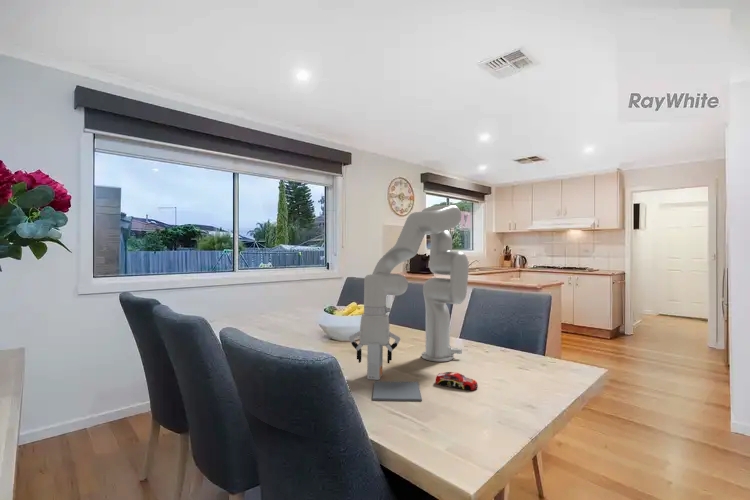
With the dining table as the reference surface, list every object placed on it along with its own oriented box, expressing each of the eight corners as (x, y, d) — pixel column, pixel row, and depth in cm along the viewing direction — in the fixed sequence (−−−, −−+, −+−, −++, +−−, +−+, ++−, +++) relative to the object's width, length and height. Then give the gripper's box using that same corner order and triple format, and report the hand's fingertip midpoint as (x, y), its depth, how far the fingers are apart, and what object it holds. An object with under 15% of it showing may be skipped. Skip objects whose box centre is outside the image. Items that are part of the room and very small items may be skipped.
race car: (479, 387, 120) (479, 375, 120) (475, 393, 116) (475, 380, 116) (439, 380, 127) (439, 368, 127) (433, 385, 122) (433, 372, 122)
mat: (418, 383, 123) (418, 381, 123) (421, 401, 109) (421, 398, 109) (374, 383, 123) (374, 381, 123) (372, 400, 109) (372, 398, 109)
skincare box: (379, 380, 126) (379, 344, 126) (367, 379, 127) (367, 343, 127) (383, 374, 132) (383, 339, 132) (370, 373, 133) (370, 339, 133)
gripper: (400, 310, 133) (399, 359, 132) (350, 309, 133) (349, 358, 133) (401, 313, 125) (400, 365, 125) (348, 312, 126) (347, 364, 126)
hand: (374, 361), depth 129 cm, fingers open, 9 cm apart
